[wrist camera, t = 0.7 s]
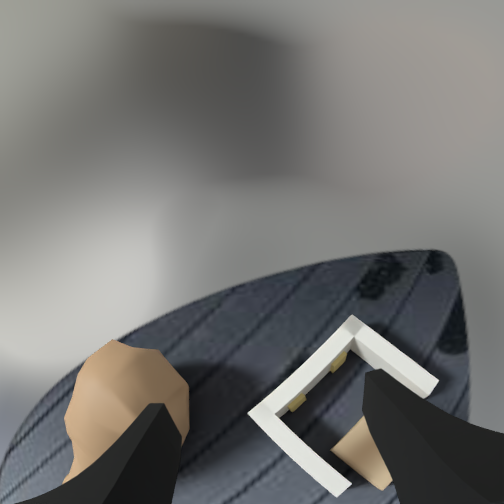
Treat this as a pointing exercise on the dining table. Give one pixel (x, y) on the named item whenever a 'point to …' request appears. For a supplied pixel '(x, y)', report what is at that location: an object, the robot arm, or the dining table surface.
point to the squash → (120, 398)
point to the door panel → (363, 455)
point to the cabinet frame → (314, 370)
